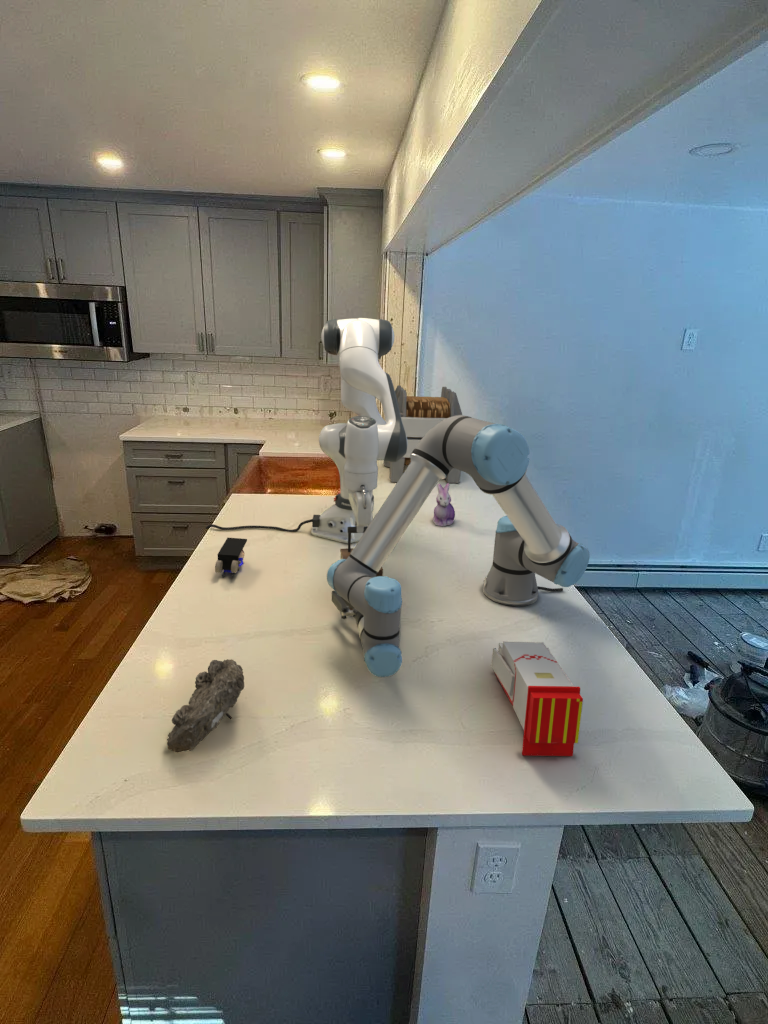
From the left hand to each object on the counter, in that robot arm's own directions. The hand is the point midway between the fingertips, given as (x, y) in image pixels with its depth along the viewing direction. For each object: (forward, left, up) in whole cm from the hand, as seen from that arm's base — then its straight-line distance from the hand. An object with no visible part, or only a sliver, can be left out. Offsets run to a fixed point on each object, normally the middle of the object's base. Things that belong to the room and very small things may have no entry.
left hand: (359, 529), depth 152 cm
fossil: (-10, -58, -18) cm, 62 cm away
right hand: (+3, -7, -12) cm, 14 cm away
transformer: (-10, +125, -18) cm, 127 cm away
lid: (+2, -4, -7) cm, 9 cm away
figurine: (+13, +63, -18) cm, 67 cm away
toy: (+48, -35, -18) cm, 62 cm away
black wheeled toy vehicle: (-39, 0, -18) cm, 43 cm away
